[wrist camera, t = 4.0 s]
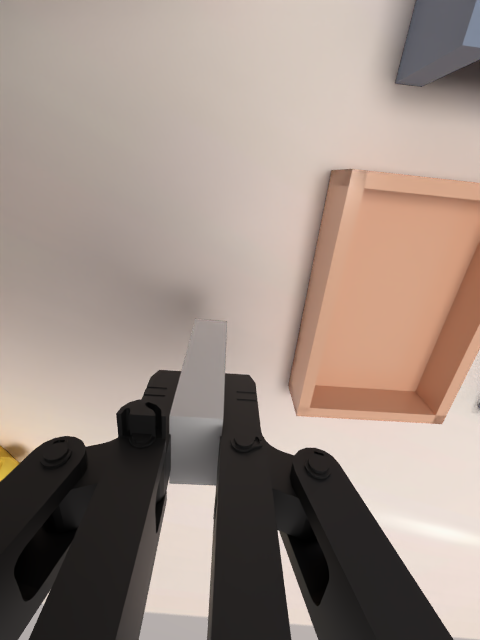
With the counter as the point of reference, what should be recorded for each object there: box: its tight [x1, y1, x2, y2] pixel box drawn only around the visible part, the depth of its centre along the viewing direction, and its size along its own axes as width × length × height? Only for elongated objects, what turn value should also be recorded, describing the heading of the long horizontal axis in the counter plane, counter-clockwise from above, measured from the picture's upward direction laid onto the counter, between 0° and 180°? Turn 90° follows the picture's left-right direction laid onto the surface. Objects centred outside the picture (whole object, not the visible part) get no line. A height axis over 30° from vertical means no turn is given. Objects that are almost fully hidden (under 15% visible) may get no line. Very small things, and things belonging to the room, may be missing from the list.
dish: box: [288, 169, 480, 424], centre depth 20 cm, size 11×16×4 cm
